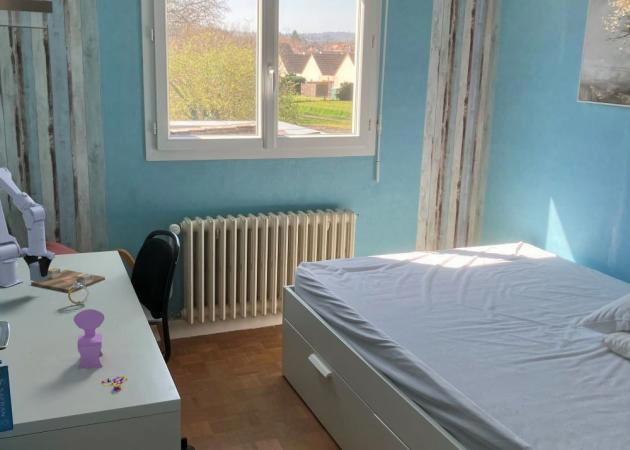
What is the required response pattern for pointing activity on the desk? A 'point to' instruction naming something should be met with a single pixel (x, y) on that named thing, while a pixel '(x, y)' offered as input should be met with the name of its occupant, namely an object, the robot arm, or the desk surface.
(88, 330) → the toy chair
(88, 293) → the ring
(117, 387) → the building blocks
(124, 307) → the desk surface
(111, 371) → the desk surface
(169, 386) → the desk surface
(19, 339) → the desk surface
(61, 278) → the wooden board
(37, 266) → the slate block
